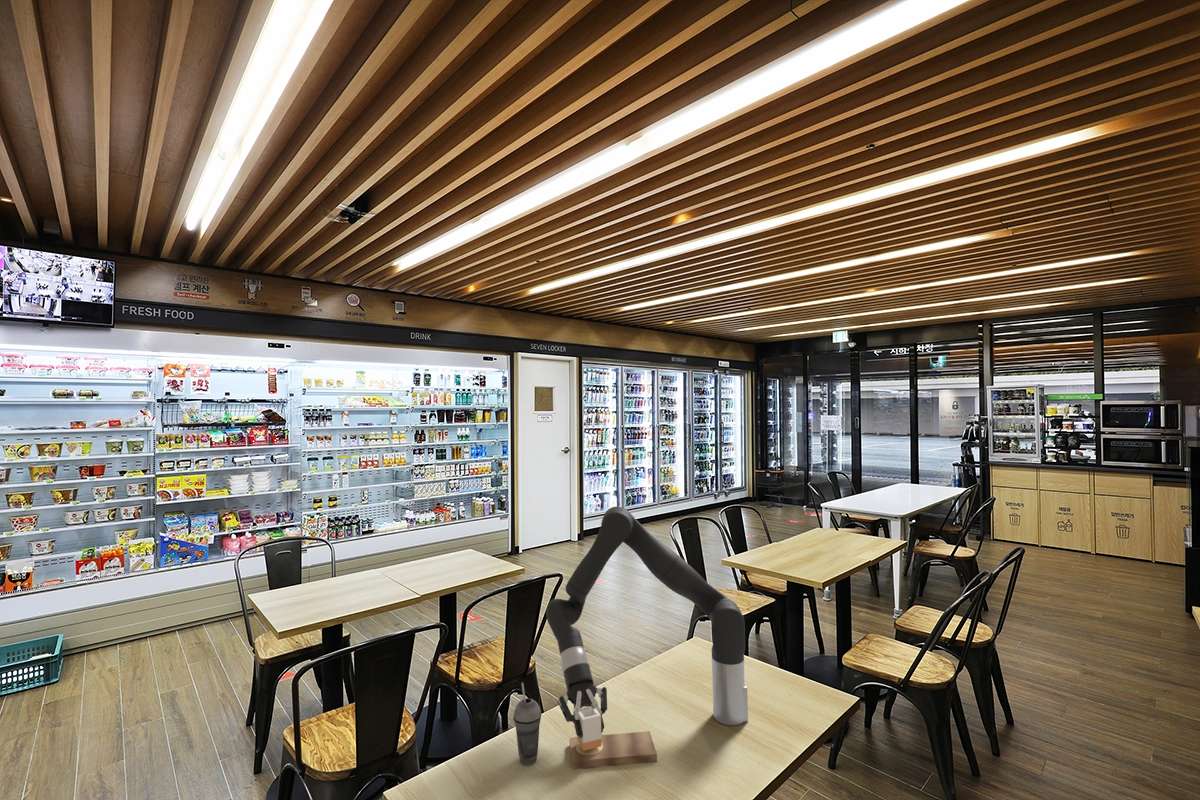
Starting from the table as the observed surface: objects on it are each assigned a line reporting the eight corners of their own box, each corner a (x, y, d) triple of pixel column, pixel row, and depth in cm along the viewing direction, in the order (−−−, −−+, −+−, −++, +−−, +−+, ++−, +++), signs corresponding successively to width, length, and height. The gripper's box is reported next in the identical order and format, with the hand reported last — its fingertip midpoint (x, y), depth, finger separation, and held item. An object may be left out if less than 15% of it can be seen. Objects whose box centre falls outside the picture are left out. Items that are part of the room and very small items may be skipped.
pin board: (649, 738, 151) (649, 713, 151) (657, 761, 141) (656, 734, 141) (569, 745, 149) (569, 719, 149) (571, 769, 139) (570, 742, 139)
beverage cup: (537, 771, 138) (535, 691, 139) (510, 768, 140) (508, 689, 140) (545, 753, 145) (544, 677, 146) (519, 750, 147) (518, 675, 147)
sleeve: (577, 740, 146) (576, 709, 146) (594, 735, 147) (594, 705, 148) (583, 751, 141) (582, 719, 141) (601, 746, 143) (600, 715, 143)
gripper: (553, 667, 149) (568, 736, 138) (602, 657, 154) (620, 723, 143) (549, 678, 154) (562, 745, 142) (596, 668, 159) (613, 732, 147)
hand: (591, 734), depth 143 cm, fingers closed on sleeve, 4 cm apart
